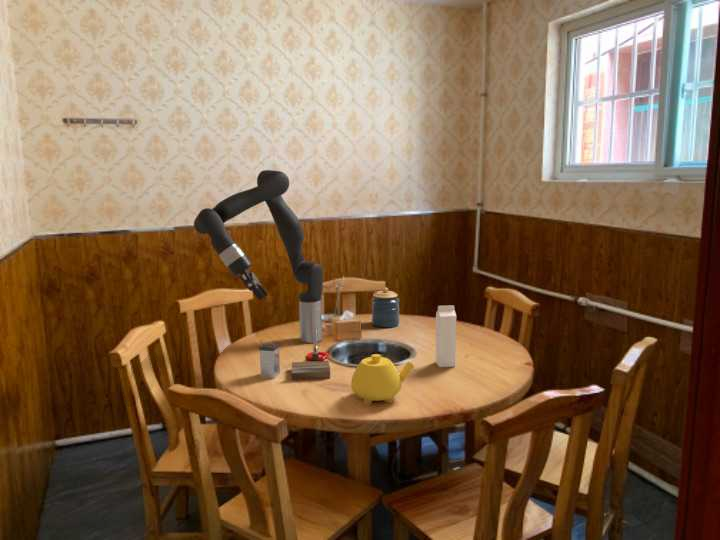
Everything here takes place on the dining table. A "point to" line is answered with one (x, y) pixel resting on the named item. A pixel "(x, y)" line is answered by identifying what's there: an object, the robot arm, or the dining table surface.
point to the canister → (385, 309)
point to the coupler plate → (310, 370)
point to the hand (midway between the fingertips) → (263, 297)
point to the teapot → (378, 379)
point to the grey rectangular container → (269, 360)
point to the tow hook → (316, 351)
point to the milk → (446, 336)
